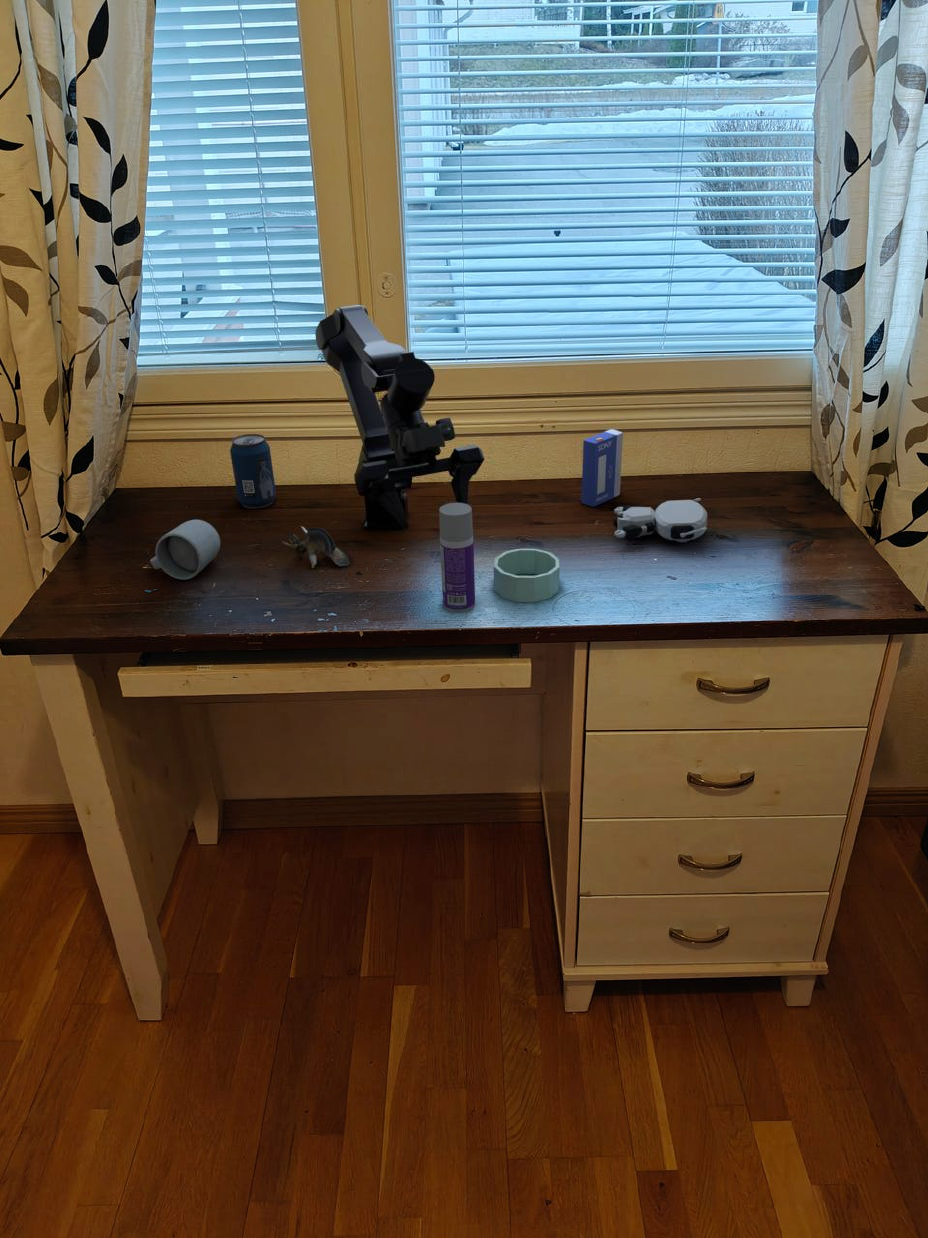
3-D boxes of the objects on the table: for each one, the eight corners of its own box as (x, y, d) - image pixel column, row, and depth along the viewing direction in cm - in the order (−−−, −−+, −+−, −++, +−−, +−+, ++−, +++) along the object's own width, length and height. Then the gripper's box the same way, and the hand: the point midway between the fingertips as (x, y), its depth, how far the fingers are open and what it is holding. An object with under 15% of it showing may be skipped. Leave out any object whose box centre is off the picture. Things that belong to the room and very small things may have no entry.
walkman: (593, 507, 167) (595, 441, 161) (581, 503, 169) (583, 437, 163) (621, 494, 172) (624, 430, 166) (608, 490, 173) (611, 426, 167)
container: (482, 604, 138) (479, 508, 130) (459, 616, 135) (455, 518, 127) (459, 594, 141) (455, 499, 133) (436, 605, 138) (431, 509, 130)
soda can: (245, 494, 177) (236, 432, 171) (281, 495, 176) (273, 433, 170) (232, 509, 171) (222, 445, 165) (270, 510, 170) (261, 446, 164)
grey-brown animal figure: (281, 567, 147) (334, 562, 144) (280, 522, 148) (333, 516, 145) (304, 573, 154) (355, 568, 152) (303, 529, 155) (353, 524, 152)
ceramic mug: (227, 558, 153) (219, 514, 149) (204, 582, 146) (195, 536, 142) (167, 555, 155) (157, 511, 152) (142, 578, 148) (131, 533, 145)
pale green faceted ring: (492, 601, 138) (491, 577, 136) (496, 571, 146) (496, 548, 144) (558, 602, 137) (559, 578, 135) (559, 572, 146) (559, 548, 144)
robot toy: (613, 553, 152) (709, 550, 150) (612, 528, 150) (710, 524, 148) (613, 522, 163) (703, 519, 160) (612, 498, 161) (704, 494, 158)
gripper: (354, 409, 132) (385, 512, 129) (478, 391, 138) (510, 488, 135) (343, 446, 142) (372, 542, 139) (458, 428, 148) (489, 519, 145)
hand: (436, 522), depth 139 cm, fingers open, 9 cm apart
